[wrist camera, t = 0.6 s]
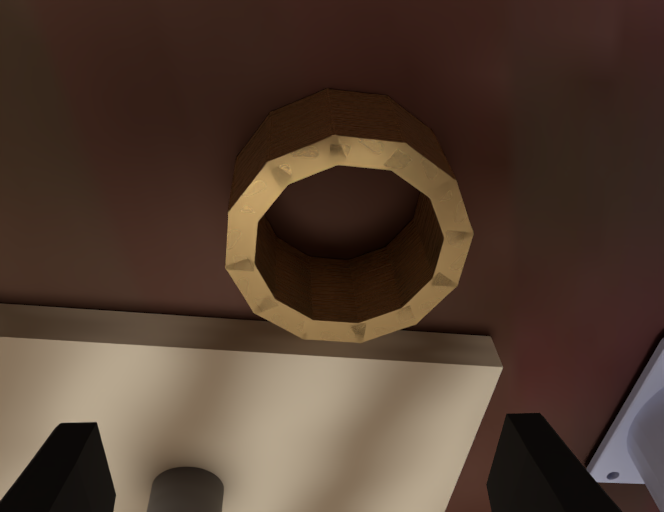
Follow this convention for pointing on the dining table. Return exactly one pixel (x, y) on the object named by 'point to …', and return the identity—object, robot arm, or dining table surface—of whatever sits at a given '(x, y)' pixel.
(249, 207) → the wooden ring
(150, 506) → the piston block
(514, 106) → the dining table surface
